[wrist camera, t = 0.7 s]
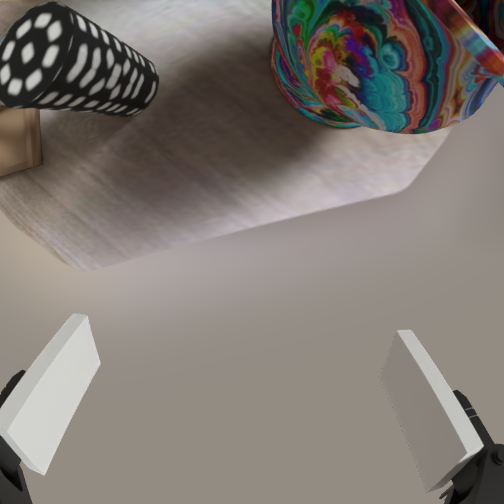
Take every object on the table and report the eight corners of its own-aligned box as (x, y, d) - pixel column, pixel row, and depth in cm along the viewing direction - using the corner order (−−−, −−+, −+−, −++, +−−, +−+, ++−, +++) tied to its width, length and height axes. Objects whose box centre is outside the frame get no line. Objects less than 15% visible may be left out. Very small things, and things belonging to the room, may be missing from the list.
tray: (-9, 109, 30) (-18, 109, 28) (39, 86, 30) (29, 85, 28) (-5, 178, 34) (-14, 181, 32) (42, 164, 34) (33, 166, 32)
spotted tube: (168, 98, 32) (85, 62, 13) (111, 128, 33) (2, 130, 14) (147, 45, 29) (64, -18, 10) (93, 76, 30) (-13, 49, 11)
